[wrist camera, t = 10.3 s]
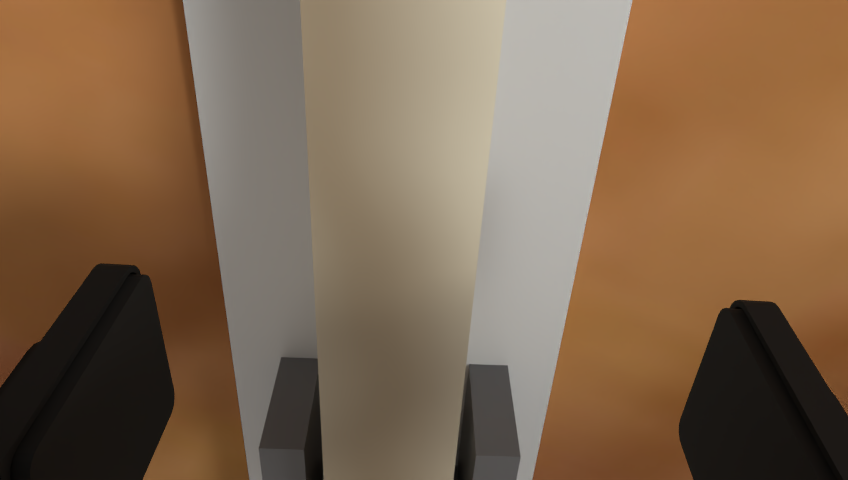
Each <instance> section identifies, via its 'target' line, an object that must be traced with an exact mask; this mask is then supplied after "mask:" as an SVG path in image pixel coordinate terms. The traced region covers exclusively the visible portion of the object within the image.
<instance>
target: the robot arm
mask: <svg viewBox="0 0 848 480" xmlns="http://www.w3.org/2000/svg"><path fill="white" fill-rule="evenodd" d="M173 406H174V388H173V383H172V378H171V373H170V369H169V364H168V359H167V354H166V350H165V345H164V340H163V336H162V331H161V326H160V321H159V317H158V312H157V307H156V302H155V298H154V293H153V288H152V283H151V280H150V278H149V276H147V275H141V274H140V271H139V269H138V268H137V267H136V266H134V265H118V264H98V265H96V266H95V267H94V268H93V270H92V271H91V272H90V274H89V275H88V277H87V278H86V279H85V281H84V282H83V283H82V285H81V286H80V288H79V289H78V290H77V292H76V293H75V295H74V296H73V297H72V299H71V300H70V301H69V303H68V304H67V306H66V307H65V308H64V310H63V311H62V312H61V314H60V315H59V317H58V318H57V319H56V321H55V322H54V324H53V325H52V326H51V328H50V329H49V330H48V332H47V333H46V335H45V336H44V337H43V339H42V340H41V341H40V342H38V343H36V344H34V345H33V346H32V347H31V348H30V349H29V350H28V351H27V352H26V354H25V355H24V356H23V358H22V359H21V360H20V362H19V363H18V365H17V366H16V367H15V369H14V370H13V371H12V373H11V374H10V375H9V377H8V378H7V379H6V381H5V382H4V384H3V385H2V386H1V388H0V480H143V477H144V475H145V473H146V470H147V468H148V466H149V463H150V461H151V459H152V457H153V454H154V452H155V450H156V447H157V445H158V443H159V441H160V438H161V436H162V434H163V431H164V429H165V427H166V425H167V422H168V420H169V418H170V415H171V413H172V410H173ZM679 437H680V442H681V445H682V448H683V451H684V454H685V457H686V459H687V462H688V465H689V468H690V471H691V474H692V477H693V480H848V415H847V414H846V412H845V411H844V409H843V407H842V406H841V404H840V403H839V401H838V399H837V398H836V397H835V395H834V394H833V393H832V392H831V390H830V389H829V387H828V386H827V384H826V383H825V381H824V379H823V378H822V376H821V374H820V373H819V371H818V370H817V368H816V366H815V365H814V363H813V362H812V360H811V358H810V357H809V355H808V354H807V352H806V350H805V349H804V347H803V346H802V344H801V342H800V341H799V339H798V338H797V336H796V334H795V333H794V331H793V329H792V328H791V326H790V325H789V323H788V321H787V320H786V318H785V317H784V315H783V313H782V312H781V310H780V309H779V307H778V306H777V305H776V304H775V303H773V302H765V301H747V300H737V301H734V302H733V303H732V305H731V307H730V308H724V309H722V310H721V311H720V313H719V315H718V318H717V321H716V323H715V326H714V329H713V331H712V334H711V337H710V340H709V342H708V345H707V348H706V351H705V353H704V356H703V359H702V361H701V364H700V367H699V370H698V372H697V375H696V378H695V380H694V383H693V386H692V389H691V391H690V394H689V397H688V400H687V402H686V405H685V408H684V410H683V413H682V416H681V419H680V423H679Z"/></svg>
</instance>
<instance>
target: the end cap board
mask: <svg viewBox="0 0 848 480" xmlns="http://www.w3.org/2000/svg"><path fill="white" fill-rule="evenodd" d="M183 5H184V12H185V20H186V27H187V34H188V41H189V48H190V56H191V63H192V70H193V77H194V84H195V92H196V99H197V106H198V113H199V120H200V128H201V135H202V142H203V149H204V156H205V164H206V171H207V178H208V185H209V192H210V200H211V207H212V214H213V221H214V228H215V236H216V243H217V250H218V257H219V264H220V272H221V279H222V286H223V293H224V300H225V308H226V315H227V322H228V329H229V336H230V344H231V351H232V358H233V365H234V372H235V380H236V387H237V394H238V401H239V408H240V416H241V423H242V430H243V437H244V445H245V452H246V459H247V466H248V473H249V480H324V476H323V456H322V436H321V416H320V395H319V375H318V355H317V335H316V314H315V294H314V274H313V254H312V233H311V213H310V193H309V172H308V152H307V132H306V112H305V91H304V71H303V51H302V31H301V10H300V0H183ZM631 5H632V0H506V8H505V17H504V26H503V35H502V44H501V53H500V62H499V71H498V80H497V89H496V98H495V108H494V117H493V126H492V135H491V144H490V153H489V162H488V171H487V180H486V189H485V198H484V207H483V216H482V225H481V235H480V244H479V253H478V262H477V271H476V280H475V289H474V298H473V307H472V316H471V325H470V334H469V343H468V352H467V361H466V371H465V380H464V389H463V398H462V407H461V416H460V425H459V434H458V443H457V452H456V461H455V470H454V479H453V480H532V478H533V473H534V469H535V464H536V459H537V454H538V450H539V445H540V440H541V435H542V430H543V426H544V421H545V416H546V411H547V406H548V402H549V397H550V392H551V387H552V383H553V378H554V373H555V368H556V363H557V359H558V354H559V349H560V344H561V340H562V335H563V330H564V325H565V320H566V316H567V311H568V306H569V301H570V296H571V292H572V287H573V282H574V277H575V273H576V268H577V263H578V258H579V253H580V249H581V244H582V239H583V234H584V229H585V225H586V220H587V215H588V210H589V206H590V201H591V196H592V191H593V186H594V182H595V177H596V172H597V167H598V162H599V158H600V153H601V148H602V143H603V139H604V134H605V129H606V124H607V119H608V115H609V110H610V105H611V100H612V95H613V91H614V86H615V81H616V76H617V72H618V67H619V62H620V57H621V52H622V48H623V43H624V38H625V33H626V28H627V24H628V19H629V14H630V9H631Z"/></svg>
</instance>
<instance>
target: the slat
mask: <svg viewBox="0 0 848 480" xmlns="http://www.w3.org/2000/svg"><path fill="white" fill-rule="evenodd" d="M505 8H506V0H300V10H301V31H302V51H303V71H304V91H305V112H306V132H307V152H308V172H309V193H310V213H311V233H312V254H313V274H314V294H315V314H316V335H317V355H318V375H319V395H320V416H321V436H322V456H323V476H324V480H453V479H454V470H455V461H456V452H457V443H458V434H459V425H460V416H461V407H462V398H463V389H464V380H465V371H466V361H467V352H468V343H469V334H470V325H471V316H472V307H473V298H474V289H475V280H476V271H477V262H478V253H479V244H480V235H481V225H482V216H483V207H484V198H485V189H486V180H487V171H488V162H489V153H490V144H491V135H492V126H493V117H494V108H495V98H496V89H497V80H498V71H499V62H500V53H501V44H502V35H503V26H504V17H505Z"/></svg>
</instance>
